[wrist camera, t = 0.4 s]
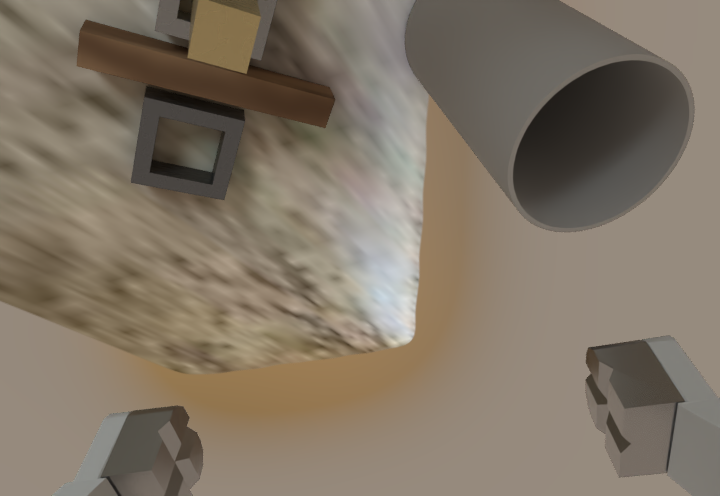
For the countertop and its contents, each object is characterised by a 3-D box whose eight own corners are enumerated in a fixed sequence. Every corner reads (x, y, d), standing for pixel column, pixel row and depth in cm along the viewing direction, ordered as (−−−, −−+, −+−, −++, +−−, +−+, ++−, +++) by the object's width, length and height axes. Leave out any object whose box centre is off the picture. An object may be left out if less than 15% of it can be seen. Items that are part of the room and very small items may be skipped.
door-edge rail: (86, 19, 48) (79, 30, 46) (329, 87, 56) (335, 99, 54) (82, 53, 50) (76, 66, 47) (320, 115, 58) (325, 128, 56)
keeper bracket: (146, 86, 53) (144, 97, 51) (243, 110, 56) (244, 121, 54) (133, 169, 57) (130, 182, 55) (223, 187, 61) (224, 200, 59)
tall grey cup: (380, 66, 56) (471, 205, 37) (444, -65, 50) (592, 19, 31) (481, 108, 61) (606, 249, 42) (549, -5, 55) (733, 98, 36)
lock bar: (201, -48, 47) (199, -3, 36) (249, -31, 48) (260, 16, 38) (192, 1, 49) (187, 57, 38) (238, 16, 51) (246, 73, 40)
